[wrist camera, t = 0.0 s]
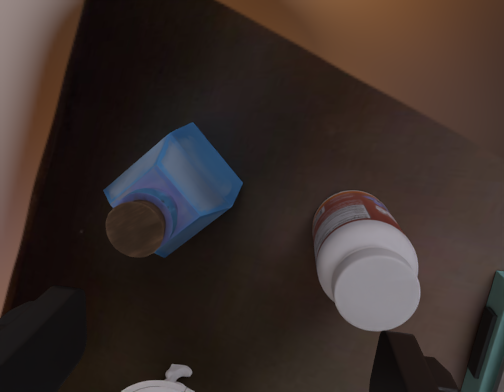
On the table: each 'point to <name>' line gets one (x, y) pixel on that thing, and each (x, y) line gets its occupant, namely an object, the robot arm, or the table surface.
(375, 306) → the pill bottle
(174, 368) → the figurine
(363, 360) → the table surface
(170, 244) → the perfume bottle
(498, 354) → the scale
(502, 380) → the pan
